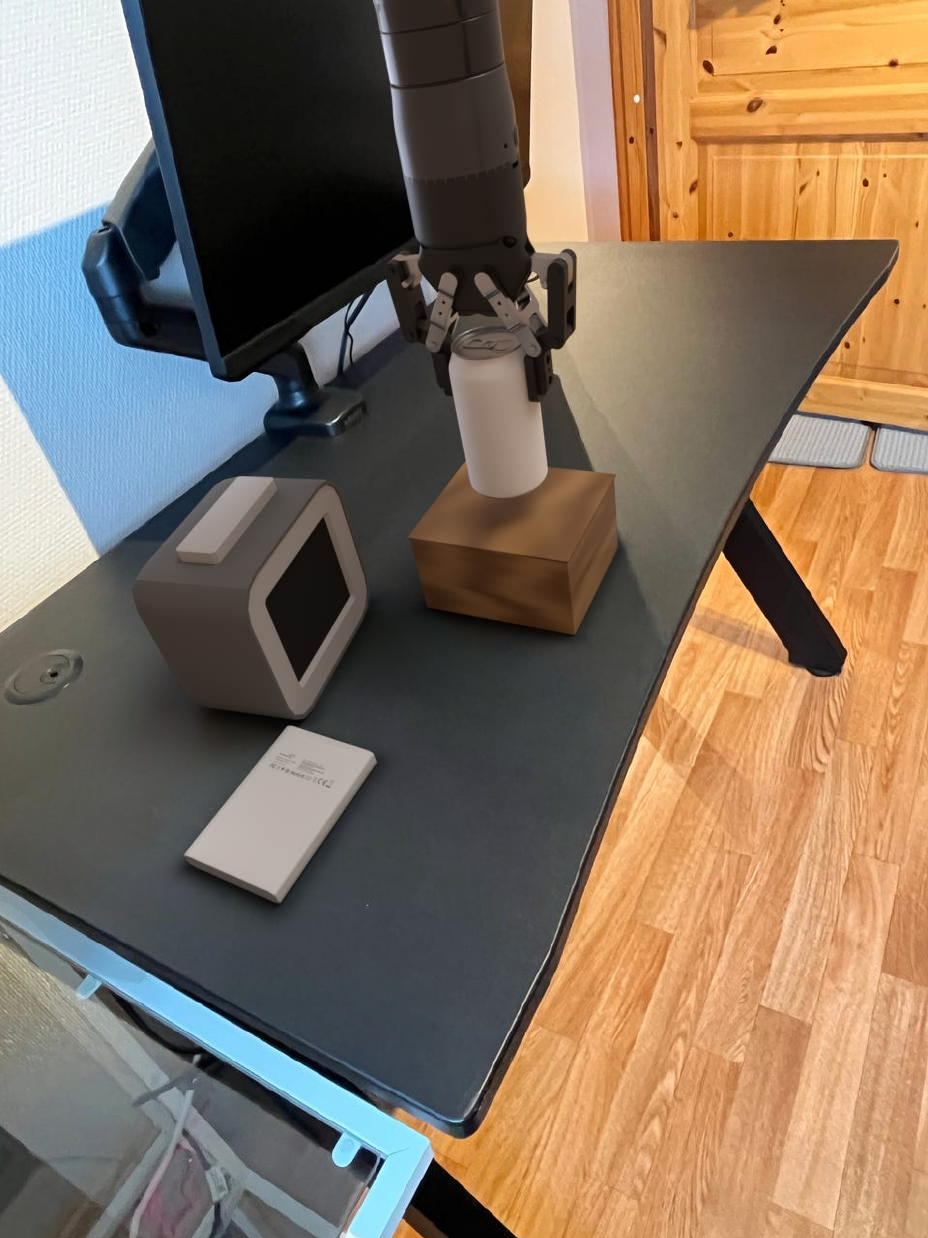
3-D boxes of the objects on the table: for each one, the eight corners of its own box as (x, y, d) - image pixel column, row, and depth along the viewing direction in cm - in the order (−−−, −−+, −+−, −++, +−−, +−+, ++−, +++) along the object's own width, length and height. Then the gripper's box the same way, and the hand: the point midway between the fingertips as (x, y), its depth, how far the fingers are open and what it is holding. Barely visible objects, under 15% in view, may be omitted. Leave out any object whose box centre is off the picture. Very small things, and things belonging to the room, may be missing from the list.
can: (526, 507, 66) (506, 364, 58) (456, 494, 69) (427, 357, 61) (561, 463, 70) (546, 323, 62) (493, 453, 73) (471, 318, 65)
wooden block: (619, 547, 77) (615, 473, 72) (575, 636, 70) (568, 561, 64) (480, 528, 83) (467, 458, 78) (425, 608, 76) (407, 537, 70)
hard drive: (190, 866, 59) (292, 736, 67) (281, 907, 56) (378, 764, 63) (181, 853, 58) (286, 722, 66) (273, 894, 55) (373, 750, 62)
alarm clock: (298, 735, 67) (230, 586, 56) (180, 717, 70) (95, 574, 60) (374, 599, 78) (329, 453, 67) (269, 590, 81) (210, 451, 71)
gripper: (335, 179, 54) (392, 412, 65) (545, 167, 48) (569, 426, 59) (390, 143, 59) (435, 367, 70) (587, 129, 53) (602, 375, 64)
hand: (496, 393), depth 64 cm, fingers closed on can, 6 cm apart
